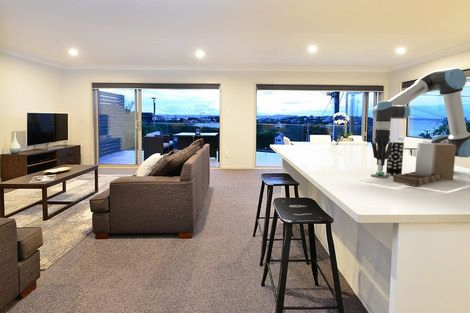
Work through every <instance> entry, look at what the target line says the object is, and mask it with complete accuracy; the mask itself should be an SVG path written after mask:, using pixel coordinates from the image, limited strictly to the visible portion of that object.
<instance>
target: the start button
mask: <svg viewBox="0 0 470 313" xmlns="http://www.w3.org/2000/svg"><path fill="white" fill-rule="evenodd" d="M375 174H378V175H385V174H386V171H378V170H377V171H375Z"/></svg>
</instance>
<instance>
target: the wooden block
mask: <svg viewBox="0 0 470 313" xmlns="http://www.w3.org/2000/svg"><path fill="white" fill-rule="evenodd" d="M455 150H456V145H453V144H449V143H434V153H433V165H432V173H434V174H441V180H440V181H442V180H447V181H454V174H455V173H454V172H455V171H454V170H455V160H456V156H455Z"/></svg>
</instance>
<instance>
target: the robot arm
mask: <svg viewBox="0 0 470 313" xmlns="http://www.w3.org/2000/svg"><path fill="white" fill-rule="evenodd" d="M466 83H467V76H466V73H465V72H464V70H462V69H460V68H446V69H440V70H433V71H431V72H429V73H427V74H425V75H423V76H422V77H420V78H419V79H417V80H416V81H415V82H414V83H413V84H412V85H411V86H410V87H408V88H406V89H405V90H402V92H399V93H398V94H397V95H395V96H393V97H392V98H391V99H389V100H388V101H387V100H381V101H378V102H377V105H376V106H374V107H373V108H372V115H373V117H374V118H376V120H375V121H376V122H375V137H374V139H373V140H371V141H370V144H371V147H372V153H373V154H372V155H373V158H374V159H376V166H377V171H382V172H384V166H385V165H386V164H385V161H386V160H387V159H388V158H389V155H390V152H391V148H392V146H393V145H394V142H395V141H391V138H390V137H391V130H390V129H391V124H392V123H391V122H392V119H395V120H397V119H399V120H400V119H401V120H403V119H405V120H406V119H408V118H409V117H410V115H411V108H410V107H409V106H408V105H407V104H409V103H410V102H412V101H414V100H415V99H416V98H418V97H419V96H421V95H426V94H427V93H429V92H433V91H439V95H440V96H442V97H443V103H444V107H445V113H446V117H447V122H448V130H449V134H439V135H433V136H432V137H431V142H430V143H449V144H453V145H456V150H455V158H457V157H458V158H470V132H468V131H467V124H466V119H465V118H466V117H465V113H464V107H463V101H462V94H461V93H462V92H463V90H464V87H465V86H466Z"/></svg>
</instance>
